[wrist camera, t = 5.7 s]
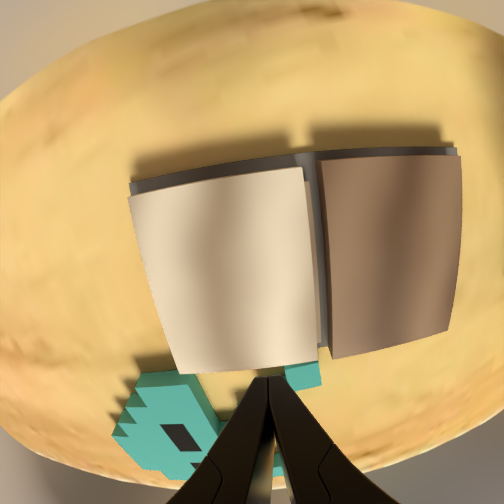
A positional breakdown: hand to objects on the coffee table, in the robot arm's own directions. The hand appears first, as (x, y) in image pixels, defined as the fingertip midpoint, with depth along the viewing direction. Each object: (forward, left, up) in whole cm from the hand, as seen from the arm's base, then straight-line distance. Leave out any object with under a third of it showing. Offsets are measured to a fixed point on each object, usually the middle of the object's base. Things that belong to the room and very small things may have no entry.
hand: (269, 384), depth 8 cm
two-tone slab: (-3, 0, -9) cm, 10 cm away
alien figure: (+6, +17, -10) cm, 21 cm away
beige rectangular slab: (+2, 0, -9) cm, 9 cm away
